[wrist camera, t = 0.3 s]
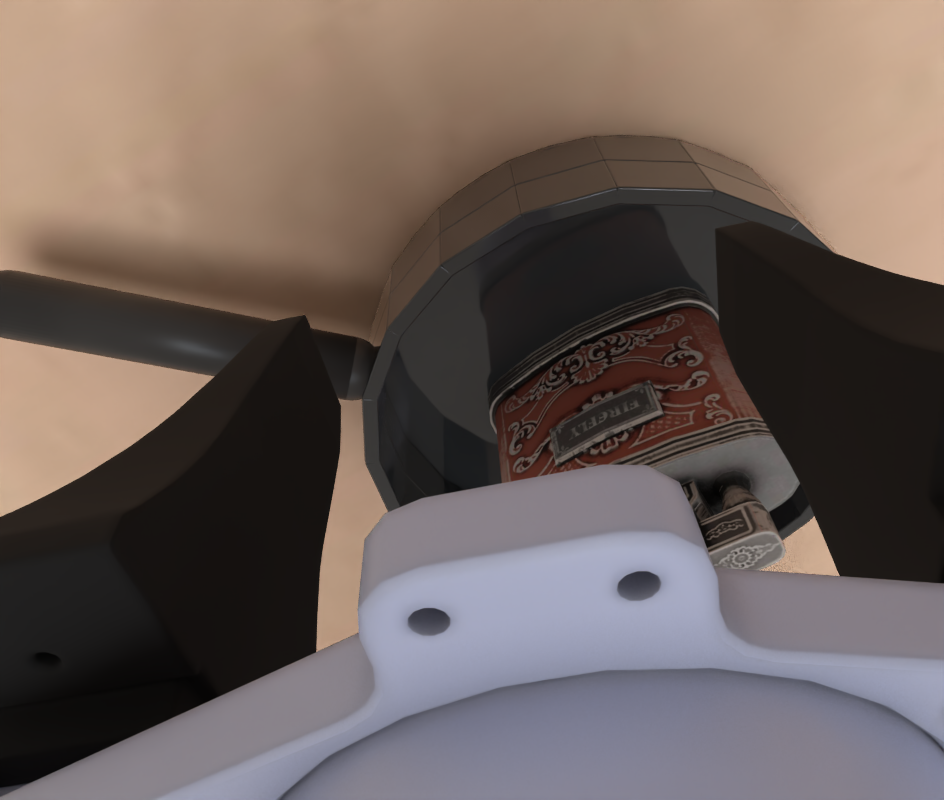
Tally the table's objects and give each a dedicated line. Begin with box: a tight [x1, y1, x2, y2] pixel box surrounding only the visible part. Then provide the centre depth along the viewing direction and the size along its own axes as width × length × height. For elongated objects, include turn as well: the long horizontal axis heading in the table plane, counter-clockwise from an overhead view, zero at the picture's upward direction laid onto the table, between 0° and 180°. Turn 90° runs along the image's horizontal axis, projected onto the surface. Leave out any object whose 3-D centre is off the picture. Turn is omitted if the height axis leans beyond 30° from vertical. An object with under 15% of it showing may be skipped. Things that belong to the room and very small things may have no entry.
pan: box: [362, 135, 839, 541], centre depth 25 cm, size 15×15×4 cm
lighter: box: [488, 287, 800, 570], centre depth 22 cm, size 8×3×10 cm, turn 122°
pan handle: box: [0, 270, 375, 400], centre depth 22 cm, size 11×2×2 cm, turn 76°
